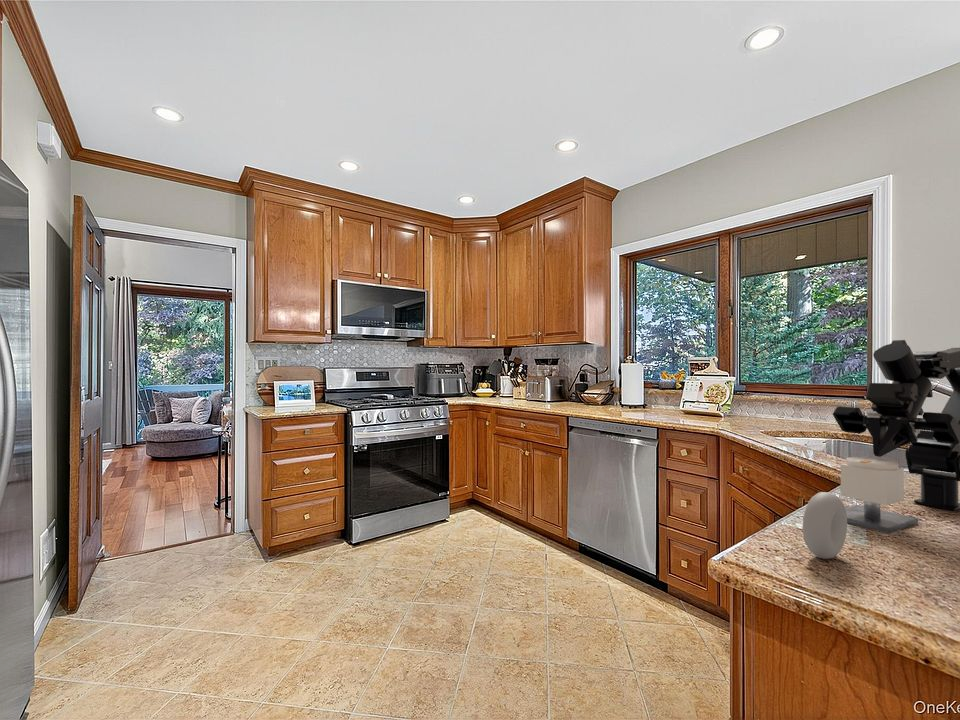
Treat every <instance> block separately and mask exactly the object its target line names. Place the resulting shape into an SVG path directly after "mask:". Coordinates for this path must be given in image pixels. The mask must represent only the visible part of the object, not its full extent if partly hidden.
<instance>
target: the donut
mask: <svg viewBox="0 0 960 720" xmlns="http://www.w3.org/2000/svg"><path fill="white" fill-rule="evenodd" d="M845 508H846V506H845V504H844V502H843V501H842V499H841V498H840V497H839V496H837V495H836V494H834V493H832V492H826V491H820V492H817V493H816V494H814V495H813V496H812V497H810V499H809V501H808V503H807V504H806V507H805V510H804V514H803V519H802V520H803V521H802V533H803V534H802V535H803V539H804V543H805V545H806V547H807V550H808V551H809V552H810V553H812V554H813V555H814V556H815V557H817V558H819V559H824V560H827V559H833V558H835V557H837V555H838V554H840V552H841V550H842V549H843V547H844V544H845V542H846V538H847V537H846V536H847V533H848V532H847V531H848V523H847V514H846V509H845Z"/></svg>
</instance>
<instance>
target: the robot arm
mask: <svg viewBox="0 0 960 720" xmlns="http://www.w3.org/2000/svg"><path fill="white" fill-rule="evenodd" d="M873 358H874V360H875V362H876V364H877V366H878V368H879V369H880V371H881V373H882V375H883V377H884V379H885V380H888V381H892V383H889V382H870V383H868V386H867V390H866V394H865V400H868V401H869V402H870V403H872V404H871V410H872V411H871V412H870V411H868V412H866V414H867V415H864V414H863V412H862V410H861V408H860V407H858V406H857V407H855V406H842V405H841V406H838V405H837V407H835V409H834V411H833V412H832V417H833V418H834V419H835V421H836V423H837V425H838V426H839V428H840V430H841V431H843V432H845V433H847V434H848V433H850V434H858V435H860V434H862V433H865V432H866V431H868V432H869V434H870V436H871V437H872V449H873V450H872V451H873V455H874V456H875V457H880V458H881V457H884V456H885V455H887V454H888V453H890V452H892V451H894V450H897V449H898V448H901V447H903V446H905V445H908V444H909V445H908V446H906V449H905V453H904V454H905V460H906V465H907V469H908V473H909V474H912V475H913V474H914V475H915V474H916V475H920V498H918V499H917V498H916V499H913V503H914V504H919V505H924V506H928V507H929V506H930V507H934V508H940V509H944V510H949V511H957V510H960V502H959V501H960V500H959V482H960V347H951V348H948V349H947V348H946V349H944V350H936V351H912V349H911V347H910V346H909V345H908V344H907V341H906V340H905V339H898V340H897V339H893V340H892V341H891V343H889V344H885V345H883V346H881V347H879V348H878V349H876V350H875V351H874V352H873ZM943 378H946V380H947V381H948V382H949V385H950V386H951V390H952V393H951V395H950V397H949V398H948V400H947V402H946V403H945V405H944V407H943V409H942V411H941V412H933V411H931V412H930V411H924V409H923V405H924V403H925V401H926V398H933V395H934V393H933V391H932V386H933V385H932V382H931V380H942V379H943ZM918 416H920V417H918ZM921 416H922V417H921Z"/></svg>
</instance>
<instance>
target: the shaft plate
mask: <svg viewBox="0 0 960 720" xmlns="http://www.w3.org/2000/svg"><path fill="white" fill-rule="evenodd" d="M845 509H846V514H847V524H849V525H853V526H857V527H861V528H864V529H868V530H872V531H877V532H880V533H885V534H890V533H894V532H897V531H899V530H903V529H906V528H909V527H912V526H915V525H918V524H919V517H918V518H917V517H913V516H909V515H904V514H900V513H896V512H891V511H887V510H883V509H881V504H878V503H874V502H869V501H864V500H863V505H860V504H856V505H851V506H848V507H845Z"/></svg>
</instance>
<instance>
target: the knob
mask: <svg viewBox="0 0 960 720" xmlns="http://www.w3.org/2000/svg"><path fill="white" fill-rule="evenodd" d="M904 471H905V470H904V467H899V463H898V462H897V461H892V460H888V459H880V458H875V457H874V458H872V457H859V456H857V457H856V456H853V457H851V456H850V457H846V458H845V463H840V497H841V496H842V497H846V498H850V499H856V500H860V501H863V502H864V501H869V502H874V503H878V504H880V505H883V506H888V505H892V504H895V503H899V502H904V501H905V481H904V480H905V478H904V477H905V476H904V475H905V474H904V473H905V472H904Z"/></svg>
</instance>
